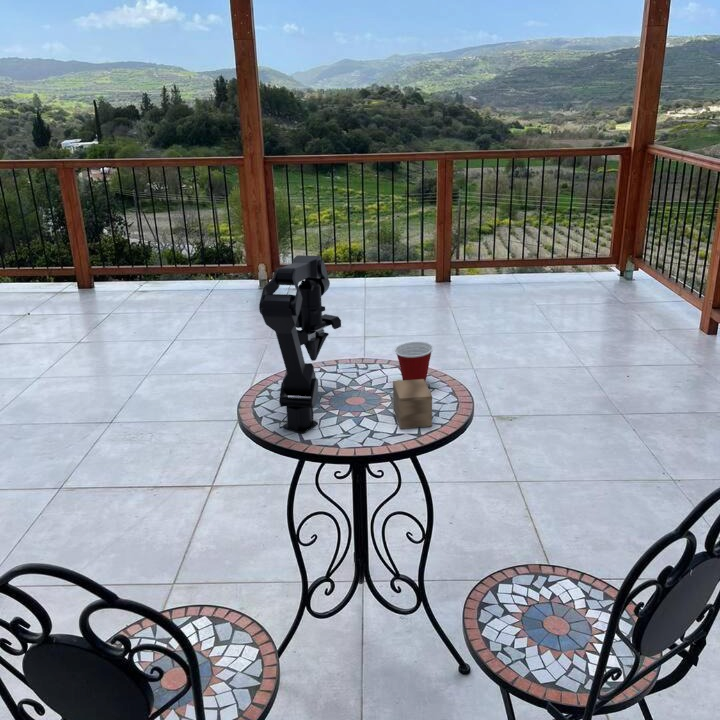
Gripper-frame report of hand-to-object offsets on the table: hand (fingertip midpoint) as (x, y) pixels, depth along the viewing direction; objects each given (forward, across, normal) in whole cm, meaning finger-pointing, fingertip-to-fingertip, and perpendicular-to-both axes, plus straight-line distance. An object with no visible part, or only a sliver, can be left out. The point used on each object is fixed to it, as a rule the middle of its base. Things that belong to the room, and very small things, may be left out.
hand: (313, 360), depth 180 cm
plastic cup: (+12, -22, +18) cm, 31 cm away
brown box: (+12, -4, +28) cm, 31 cm away
